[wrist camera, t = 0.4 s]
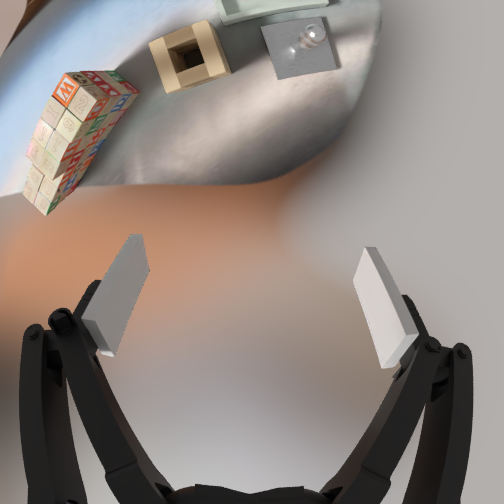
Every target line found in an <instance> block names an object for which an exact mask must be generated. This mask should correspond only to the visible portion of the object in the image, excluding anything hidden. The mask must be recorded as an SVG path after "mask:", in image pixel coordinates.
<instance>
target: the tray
mask: <svg viewBox="0 0 504 504" xmlns="http://www.w3.org/2000/svg"><path fill="white" fill-rule="evenodd" d="M214 2H215V4H216V7H217V10H218V12H219V15H220V18H221V20H222V23H223V25H224V26H228V25H231V24H235V23H238V22H242V21H246V20H250V19H254V18H259V17H263V16H268V15H273V14H279V13H284V12H290V11H297V10H305V9H313V8H324V7H326V5H327V4H328V3H329V2H328V0H214Z"/></svg>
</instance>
